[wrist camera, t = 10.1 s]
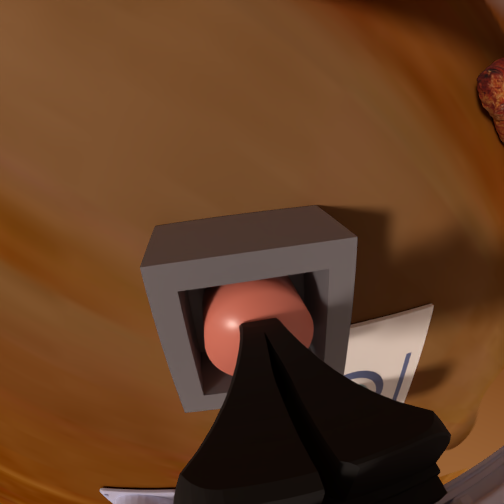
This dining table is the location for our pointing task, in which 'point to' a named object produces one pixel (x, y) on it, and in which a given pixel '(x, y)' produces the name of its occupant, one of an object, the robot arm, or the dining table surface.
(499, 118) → the croissant
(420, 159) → the dining table surface
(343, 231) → the button housing
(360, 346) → the paper sheet
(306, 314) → the button
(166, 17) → the dining table surface
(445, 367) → the dining table surface
